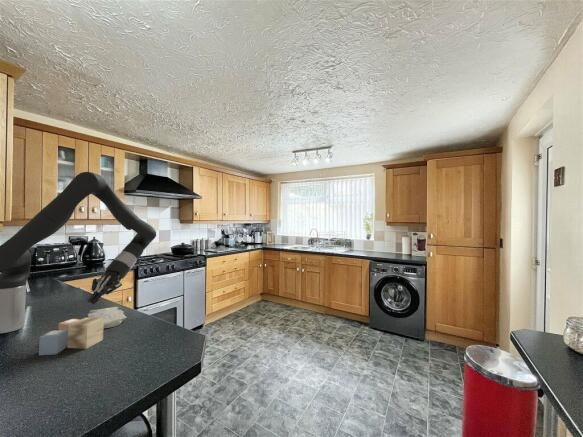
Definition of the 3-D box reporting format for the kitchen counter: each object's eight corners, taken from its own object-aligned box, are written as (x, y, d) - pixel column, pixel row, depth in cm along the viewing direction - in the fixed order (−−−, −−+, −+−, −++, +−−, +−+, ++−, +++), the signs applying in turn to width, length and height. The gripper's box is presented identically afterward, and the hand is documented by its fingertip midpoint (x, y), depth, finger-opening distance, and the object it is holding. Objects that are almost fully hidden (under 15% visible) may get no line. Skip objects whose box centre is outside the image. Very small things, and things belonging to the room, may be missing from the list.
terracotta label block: (57, 339, 93) (58, 322, 93) (72, 334, 98) (73, 318, 98) (67, 341, 92) (68, 324, 92) (82, 335, 97) (82, 319, 97)
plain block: (67, 347, 87) (68, 324, 87) (85, 338, 94) (86, 317, 94) (86, 348, 86) (87, 325, 87) (102, 339, 93) (103, 318, 94)
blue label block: (38, 355, 82) (39, 336, 82) (50, 348, 87) (51, 330, 87) (56, 354, 83) (57, 335, 83) (66, 347, 87) (67, 329, 88)
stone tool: (86, 317, 118) (90, 332, 99) (87, 308, 118) (91, 322, 100) (119, 311, 126) (129, 325, 108) (120, 303, 127) (129, 315, 108)
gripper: (103, 258, 103) (69, 296, 91) (129, 260, 100) (97, 299, 88) (115, 269, 108) (83, 306, 96) (140, 271, 105) (111, 309, 93)
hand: (90, 303), depth 92 cm, fingers closed
